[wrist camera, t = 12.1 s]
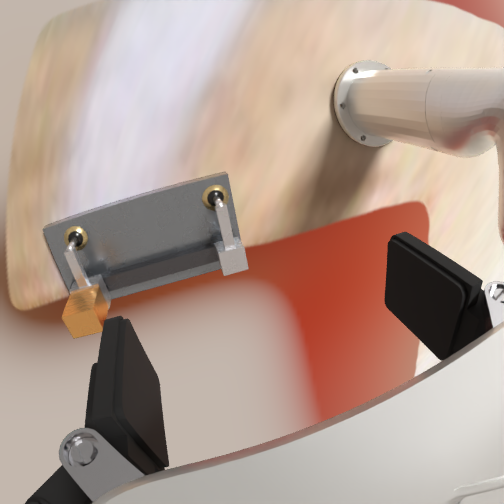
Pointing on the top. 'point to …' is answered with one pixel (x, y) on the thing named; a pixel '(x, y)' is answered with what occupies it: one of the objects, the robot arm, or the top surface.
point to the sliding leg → (85, 298)
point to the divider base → (154, 237)
